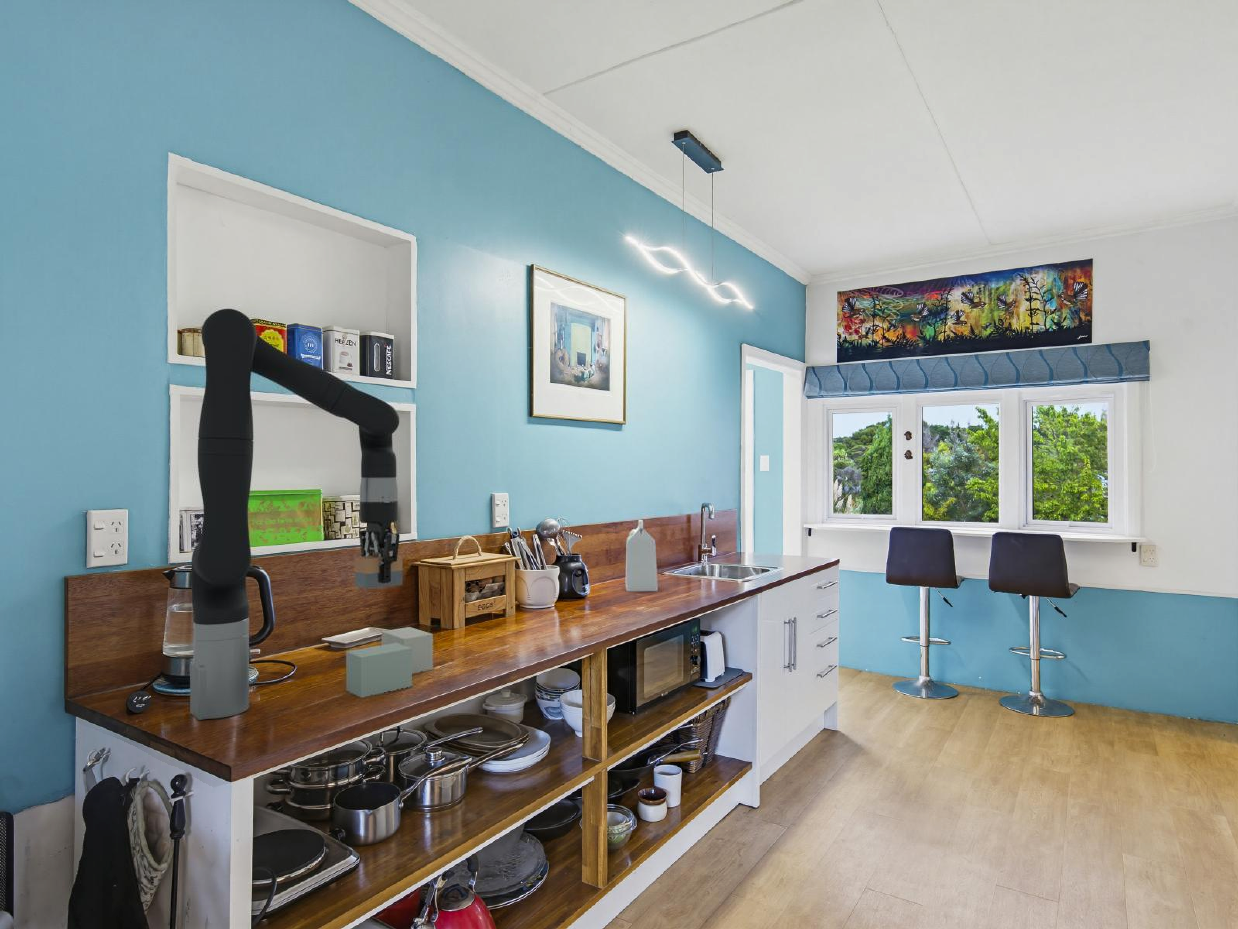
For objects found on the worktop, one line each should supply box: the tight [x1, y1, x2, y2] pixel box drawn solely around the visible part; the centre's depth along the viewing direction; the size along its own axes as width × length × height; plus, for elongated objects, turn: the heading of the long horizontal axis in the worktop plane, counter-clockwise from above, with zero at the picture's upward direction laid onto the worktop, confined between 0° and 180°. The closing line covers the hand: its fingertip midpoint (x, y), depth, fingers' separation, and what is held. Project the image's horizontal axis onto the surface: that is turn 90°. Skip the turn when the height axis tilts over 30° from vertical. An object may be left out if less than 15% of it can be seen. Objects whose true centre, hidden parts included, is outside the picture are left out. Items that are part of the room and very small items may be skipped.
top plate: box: [354, 552, 403, 574], centre depth 154 cm, size 8×5×4 cm, turn 134°
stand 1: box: [345, 643, 413, 699], centre depth 154 cm, size 11×7×8 cm, turn 134°
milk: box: [624, 519, 659, 592], centre depth 283 cm, size 12×12×26 cm
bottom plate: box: [354, 569, 403, 590], centre depth 154 cm, size 8×5×3 cm, turn 134°
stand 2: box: [381, 626, 434, 675], centre depth 170 cm, size 7×11×8 cm, turn 44°
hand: (378, 581), depth 154 cm, fingers closed on bottom plate, top plate, 5 cm apart
